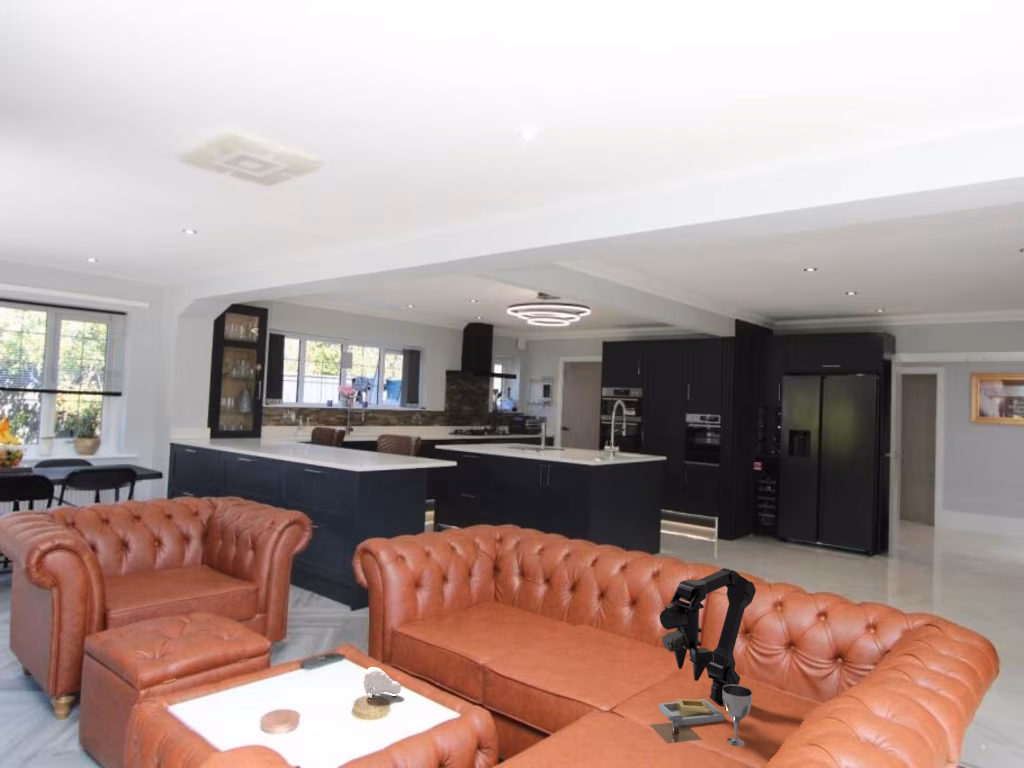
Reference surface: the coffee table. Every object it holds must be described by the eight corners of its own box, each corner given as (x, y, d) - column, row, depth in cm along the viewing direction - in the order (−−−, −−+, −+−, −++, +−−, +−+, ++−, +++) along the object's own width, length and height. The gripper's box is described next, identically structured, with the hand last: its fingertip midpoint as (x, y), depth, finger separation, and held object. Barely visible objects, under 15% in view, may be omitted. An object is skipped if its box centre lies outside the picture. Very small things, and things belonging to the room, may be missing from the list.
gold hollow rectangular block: (680, 718, 208) (680, 706, 208) (676, 709, 214) (677, 698, 214) (715, 720, 208) (715, 708, 208) (710, 711, 213) (711, 700, 213)
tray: (704, 705, 218) (704, 698, 218) (724, 722, 208) (724, 714, 208) (658, 710, 214) (658, 703, 214) (676, 727, 203) (676, 720, 203)
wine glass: (716, 736, 199) (718, 684, 199) (743, 736, 199) (745, 684, 199) (727, 751, 191) (729, 696, 191) (755, 750, 191) (757, 696, 191)
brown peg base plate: (682, 722, 207) (683, 706, 207) (702, 740, 196) (702, 724, 196) (649, 726, 204) (649, 710, 204) (667, 745, 193) (668, 728, 193)
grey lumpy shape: (368, 662, 222) (405, 668, 221) (365, 689, 222) (401, 695, 221) (362, 670, 216) (400, 676, 215) (359, 697, 216) (396, 704, 215)
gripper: (651, 615, 219) (649, 665, 219) (682, 636, 201) (680, 690, 201) (682, 613, 223) (680, 662, 222) (715, 633, 205) (714, 686, 205)
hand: (688, 674), depth 213 cm, fingers open, 9 cm apart
